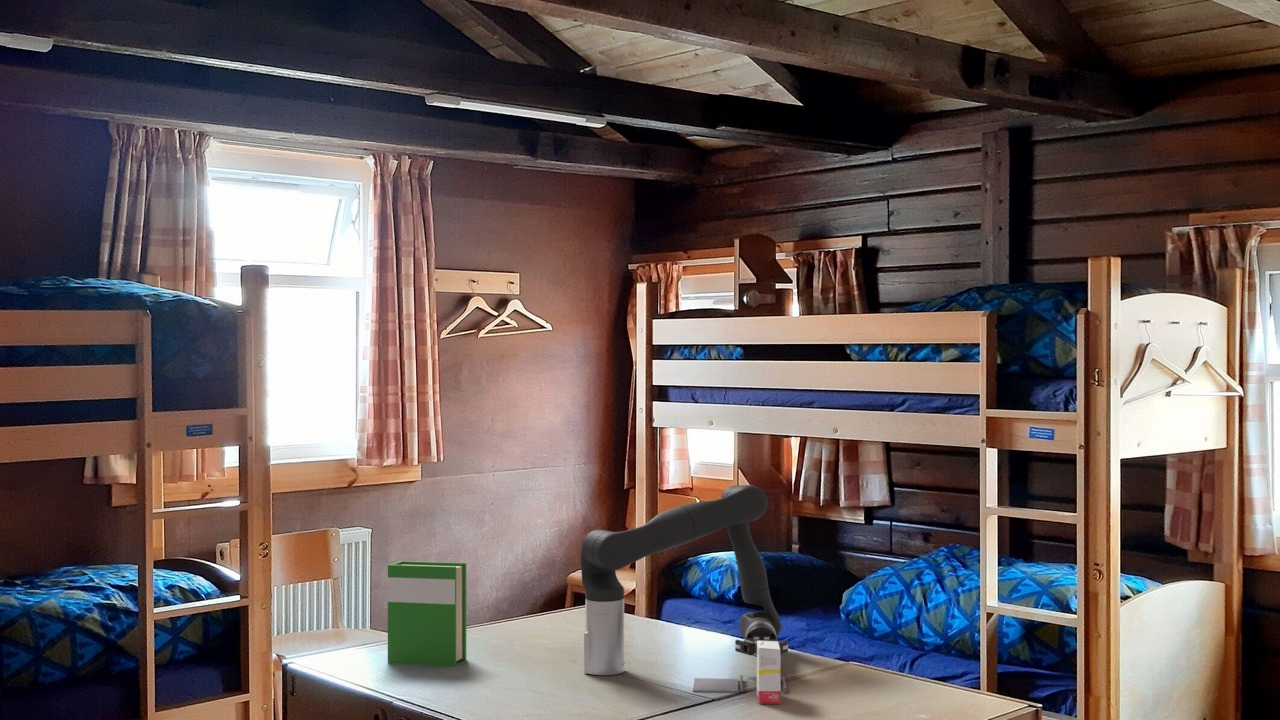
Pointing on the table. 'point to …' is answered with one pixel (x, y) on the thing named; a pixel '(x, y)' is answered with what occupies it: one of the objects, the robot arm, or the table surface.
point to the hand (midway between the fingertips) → (762, 654)
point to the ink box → (768, 672)
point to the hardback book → (426, 613)
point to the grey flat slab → (721, 685)
